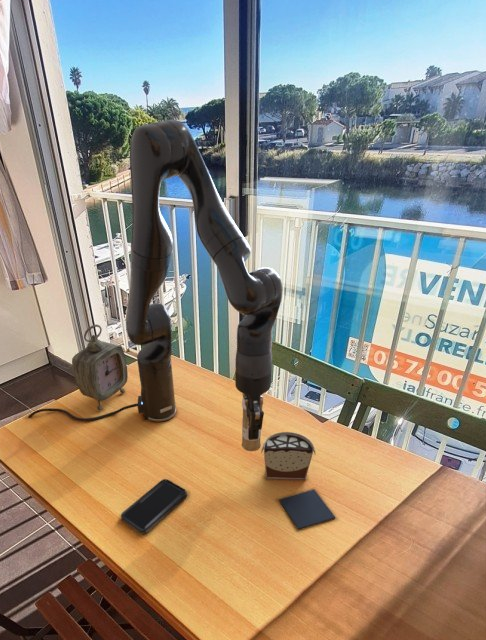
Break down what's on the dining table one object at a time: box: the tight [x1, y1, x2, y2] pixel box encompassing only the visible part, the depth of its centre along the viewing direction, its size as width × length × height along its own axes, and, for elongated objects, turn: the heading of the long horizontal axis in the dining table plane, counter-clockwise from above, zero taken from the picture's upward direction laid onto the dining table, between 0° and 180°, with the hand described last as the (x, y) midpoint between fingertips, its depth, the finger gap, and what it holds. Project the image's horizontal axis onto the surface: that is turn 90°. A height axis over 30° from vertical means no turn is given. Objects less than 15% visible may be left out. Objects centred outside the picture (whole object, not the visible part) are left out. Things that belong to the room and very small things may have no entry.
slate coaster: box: [278, 488, 336, 530], centre depth 101 cm, size 9×9×1 cm
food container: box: [260, 431, 316, 480], centre depth 108 cm, size 12×6×10 cm, turn 84°
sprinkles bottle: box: [241, 397, 264, 452], centre depth 102 cm, size 5×5×14 cm
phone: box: [120, 478, 188, 535], centre depth 103 cm, size 8×1×15 cm
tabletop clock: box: [71, 324, 128, 412], centre depth 134 cm, size 14×9×25 cm, turn 147°
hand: (251, 431), depth 104 cm, fingers closed on sprinkles bottle, 4 cm apart
